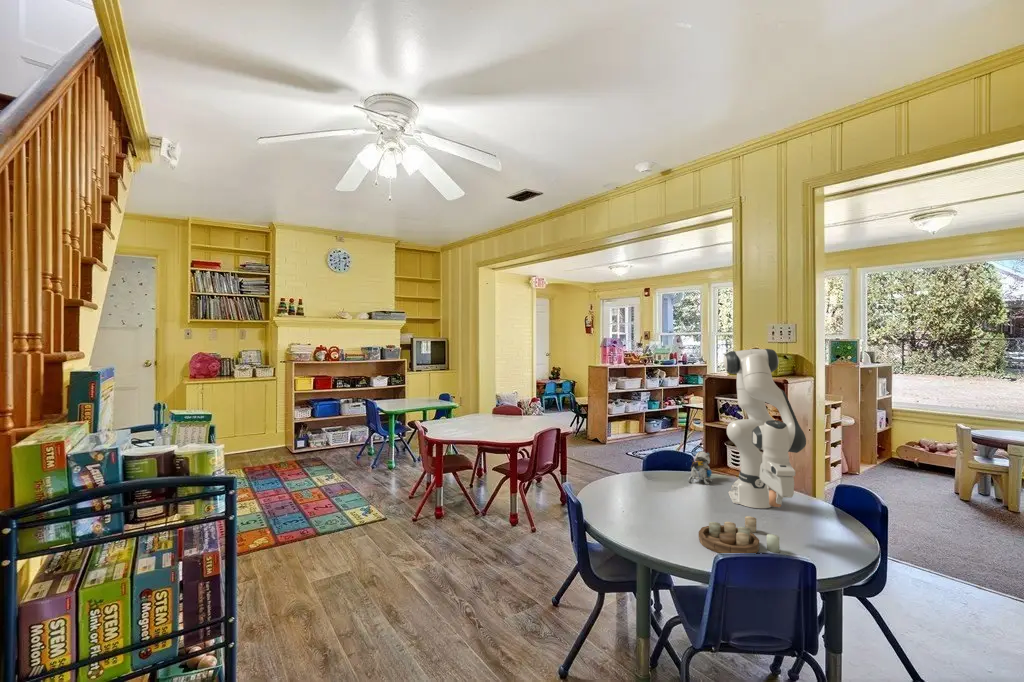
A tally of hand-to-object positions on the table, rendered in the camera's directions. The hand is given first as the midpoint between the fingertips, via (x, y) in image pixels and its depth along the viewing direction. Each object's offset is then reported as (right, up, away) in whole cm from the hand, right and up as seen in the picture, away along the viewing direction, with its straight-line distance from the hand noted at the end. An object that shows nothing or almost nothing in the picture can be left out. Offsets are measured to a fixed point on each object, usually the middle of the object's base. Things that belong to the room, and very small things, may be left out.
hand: (775, 500), depth 174 cm
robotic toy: (+2, -15, +74) cm, 75 cm away
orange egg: (0, -2, 0) cm, 2 cm away
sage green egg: (-6, -15, -9) cm, 18 cm away
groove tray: (-19, -15, -3) cm, 25 cm away
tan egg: (-5, -15, +8) cm, 17 cm away
